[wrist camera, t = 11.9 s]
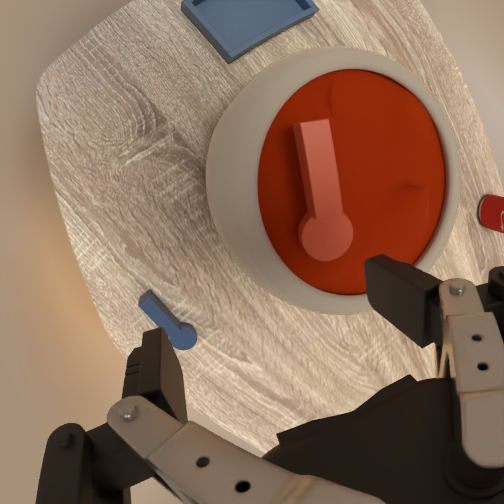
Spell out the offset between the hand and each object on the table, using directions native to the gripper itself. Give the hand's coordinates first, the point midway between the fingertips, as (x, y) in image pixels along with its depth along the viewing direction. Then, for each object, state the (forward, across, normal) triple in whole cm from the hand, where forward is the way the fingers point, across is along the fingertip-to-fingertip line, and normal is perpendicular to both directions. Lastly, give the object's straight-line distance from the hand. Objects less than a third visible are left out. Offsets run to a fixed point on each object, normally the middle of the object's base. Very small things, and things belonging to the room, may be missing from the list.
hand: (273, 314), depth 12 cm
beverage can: (+28, -49, +13) cm, 58 cm away
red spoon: (+10, -7, -2) cm, 12 cm away
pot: (+28, -12, -1) cm, 30 cm away
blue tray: (+27, -11, -23) cm, 37 cm away
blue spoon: (+27, +9, +12) cm, 31 cm away
